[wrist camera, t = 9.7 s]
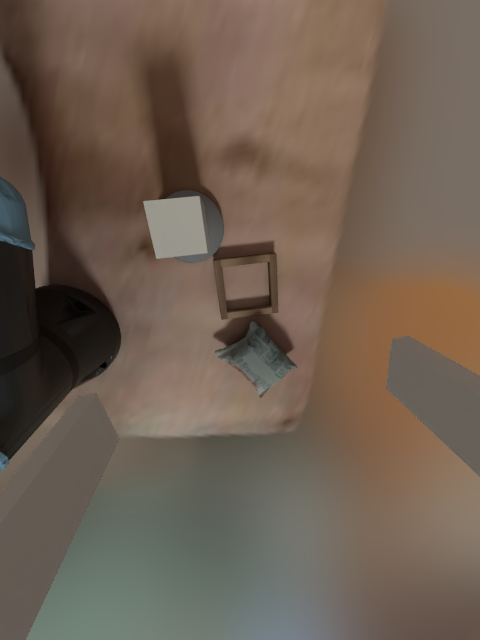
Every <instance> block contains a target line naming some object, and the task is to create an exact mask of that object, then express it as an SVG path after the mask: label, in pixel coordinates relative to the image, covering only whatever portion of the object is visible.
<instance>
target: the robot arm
mask: <svg viewBox="0 0 480 640" xmlns="http://www.w3.org/2000/svg"><path fill="white" fill-rule="evenodd" d="M34 248H35V244H34V243H33V242H32V241H31V236H30V230H29V224H28V218H27V212H26V205H25V202H24V200H23V198H22V196H21V195H20V193H19V192H18V191H17V190H16V188H15V187H14V186H12V185H11V184H10V183H9V182H7V181H6V180H4V179H3V178H1V177H0V471H2V470H3V469H5V468H6V466H7V465H8V464H9V460H10V459H11V458H12V457H13V456H14V454H15V453H16V452H17V451H18V450H19V449H20V448H21V447H22V446H23V444H24V443H25V442H26V441H27V440H28V439H29V437H31V435H32V434H33V433H34V432H35V431H36V430H37V429H38V428H39V426H40V425H41V424H42V423H43V422H44V421H45V420H46V418H47V417H48V416H49V415H50V414H51V413H52V412H53V411H54V409H55V408H56V407H57V406H58V405H59V404H60V403H61V402H62V400H63V399H64V398H65V397H66V396H67V395H68V394H69V392H70V391H71V390H72V389H74V388H76V387H78V386H80V385H82V384H83V383H85V382H87V381H89V380H91V379H93V378H95V377H97V376H98V375H100V374H101V373H102V372H104V371H105V370H106V369H107V368H108V367H109V366H110V364H111V363H112V362H113V360H114V359H115V358H116V356H117V354H118V352H119V349H120V345H121V335H120V330H119V326H118V324H117V322H116V320H115V318H114V316H113V315H112V313H111V312H110V311H109V310H108V308H107V307H106V306H105V305H104V304H102V303H101V302H100V301H99V300H98V299H96V298H95V297H93V296H91V295H90V294H88V293H86V292H84V291H81V290H79V289H76V288H72V287H68V286H61V285H49V286H43V287H39V288H36V289H35V279H34V268H33V255H32V250H34ZM386 389H387V390H388V391H389V392H391V393H392V394H393V395H394V396H395V397H396V398H397V399H398V400H399V401H400V402H401V403H402V404H403V405H404V406H405V407H406V408H408V409H409V410H410V411H411V412H412V413H413V414H414V415H415V416H416V417H417V418H418V419H419V420H420V421H421V422H423V424H425V425H426V426H427V427H428V428H429V429H430V430H431V431H432V432H433V433H434V434H435V435H436V436H437V437H438V438H439V439H440V440H442V441H443V442H444V443H445V444H446V445H447V446H448V447H449V448H450V449H451V450H452V451H453V452H454V453H455V454H456V455H457V456H459V457H460V458H461V459H462V460H463V461H464V462H465V463H466V464H467V465H468V466H469V467H470V468H471V469H472V470H473V471H474V472H475V473H477V474H478V475H479V476H480V376H479V375H478V374H476V373H474V372H472V371H470V370H469V369H467V368H465V367H463V366H462V365H460V364H458V363H456V362H454V361H452V360H450V359H449V358H447V357H445V356H444V355H442V354H440V353H438V352H436V351H435V350H432V349H431V348H429V347H427V346H426V345H424V344H422V343H420V342H418V341H417V340H415V339H413V338H411V337H409V336H405V337H400V338H395V339H392V342H391V351H390V359H389V368H388V377H387V386H386ZM118 441H119V437H118V435H117V433H116V431H115V429H114V427H113V425H112V423H111V421H110V419H109V417H108V415H107V413H106V411H105V409H104V407H103V405H102V403H101V401H100V399H99V397H98V395H97V393H95V394H90V395H84V396H79V397H78V398H77V399H76V401H75V402H74V403H73V404H72V405H71V407H70V408H69V409H68V410H67V411H66V413H65V414H64V415H63V416H62V417H61V419H60V420H59V421H58V422H57V423H56V425H55V426H54V427H53V428H52V430H51V431H50V432H49V433H48V434H47V436H46V437H45V438H44V439H43V440H42V442H41V443H40V444H39V445H38V446H37V448H36V449H35V450H34V452H32V454H31V455H30V456H29V457H28V459H27V460H26V461H25V462H24V463H23V465H22V466H21V467H20V468H19V469H18V471H17V472H16V473H15V474H14V475H13V477H12V478H11V479H10V480H9V481H8V483H7V484H6V485H5V486H4V487H3V489H2V490H1V491H0V640H26V638H27V636H28V633H29V632H30V629H31V627H32V625H33V623H34V621H35V619H36V617H37V614H38V612H39V610H40V608H41V606H42V604H43V602H44V599H45V597H46V595H47V593H48V591H49V589H50V587H51V584H52V582H53V580H54V578H55V576H56V574H57V572H58V569H59V567H60V565H61V563H62V561H63V559H64V557H65V555H66V552H67V550H68V548H69V546H70V544H71V542H72V540H73V537H74V535H75V533H76V531H77V529H78V527H79V524H80V522H81V520H82V518H83V516H84V514H85V512H86V510H87V507H88V505H89V503H90V501H91V499H92V497H93V495H94V492H95V490H96V488H97V486H98V484H99V482H100V480H101V477H102V475H103V473H104V471H105V469H106V467H107V464H108V462H109V460H110V458H111V456H112V453H113V452H114V450H115V447H116V445H117V443H118Z"/></svg>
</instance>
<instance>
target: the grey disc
mask: <svg viewBox="0 0 480 640" xmlns="http://www.w3.org/2000/svg"><path fill="white" fill-rule="evenodd" d="M193 196H200V198H201V200H202V202H203V204H204V206H205V213H206V220H207V227H208V235H209V242H210V248H209V251H208V253H204V254H195V255H186V256H177V257H175V258H176V259H178V260H181V261H184V262H190V263H194V262H201V261H204V260H206V259H208V258H209V257H211V256H212V255H213V254H214V253H215V252H216V251H217V250H218V248H219V246H220V244H221V242H222V239H223V233H224V225H223V220H222V216H221V214H220V212H219V210H218V208H217V207H216V205H215V204H214V203H213V202H212V201H211V200H210V199H209V198H208V197H207V196H205V195H203V194H201V193H199V192H196V191H191V190H183V191H178V192H175V193H173V194H171V195H170V196H168V197H167V198H166V199H172V198H182V197H193Z"/></svg>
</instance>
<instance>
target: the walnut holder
mask: <svg viewBox="0 0 480 640" xmlns="http://www.w3.org/2000/svg"><path fill="white" fill-rule="evenodd" d="M213 261H214V269H215V276H216V283H217V290H218V297H219V304H220V312H221V319H222V320H223V319H231V318H239V317H247V316H255V315H262V314H270V313H278V289H277V261H276V253H269V254H260V255H251V256H242V257H233V258H225V259H216V260H213ZM262 262H268V272H269V292H270V305H266V306H258V307H250V308H242V309H234V310H227V307H226V299H225V291H224V284H223V276H222V268H221V267H227V266H236V265H245V264H253V263H262Z"/></svg>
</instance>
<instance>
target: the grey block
mask: <svg viewBox="0 0 480 640" xmlns="http://www.w3.org/2000/svg"><path fill="white" fill-rule="evenodd" d="M143 203H144V207H145V212H146V216H147V220H148V225H149V229H150V233H151V238H152V242H153V246H154V251H155V255H156V259H159V258H168V257H177V256H186V255H195V254H204V253H208V251H209V248H210V242H209V235H208V227H207V220H206V213H205V206H204V204H203V202H202V200H201V198H200V196H193V197H182V198H172V199H161V200H151V201H143Z"/></svg>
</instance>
